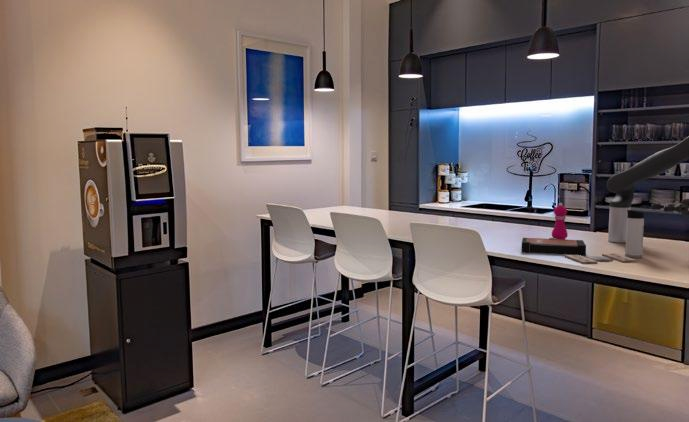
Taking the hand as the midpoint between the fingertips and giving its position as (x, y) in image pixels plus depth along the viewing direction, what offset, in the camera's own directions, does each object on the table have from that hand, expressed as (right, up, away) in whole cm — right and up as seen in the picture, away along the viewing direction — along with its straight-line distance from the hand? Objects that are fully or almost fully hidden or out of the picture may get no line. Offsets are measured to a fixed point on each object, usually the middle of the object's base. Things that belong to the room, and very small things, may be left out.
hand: (657, 208), depth 218 cm
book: (-37, -20, +18) cm, 46 cm away
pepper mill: (-27, -17, +35) cm, 48 cm away
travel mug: (-9, -21, +2) cm, 23 cm away
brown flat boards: (-26, -21, -3) cm, 34 cm away
